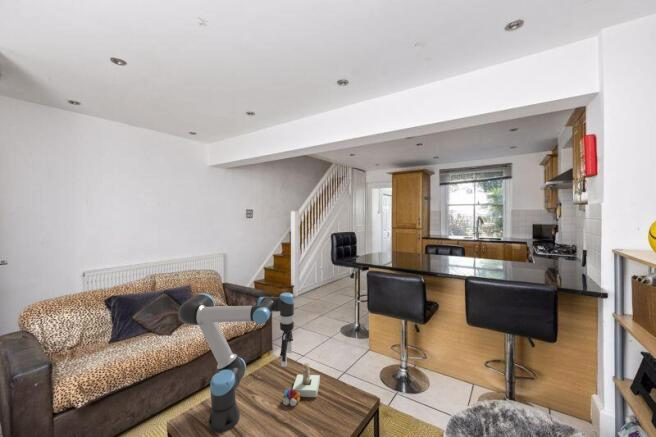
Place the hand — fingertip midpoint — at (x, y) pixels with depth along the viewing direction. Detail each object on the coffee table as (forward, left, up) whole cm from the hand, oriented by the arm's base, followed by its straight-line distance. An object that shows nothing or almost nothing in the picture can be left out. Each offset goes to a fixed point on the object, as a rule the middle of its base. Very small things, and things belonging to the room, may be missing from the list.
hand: (286, 359), depth 153 cm
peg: (+8, +11, -24) cm, 28 cm away
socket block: (+8, +11, -24) cm, 28 cm away
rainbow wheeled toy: (+2, 0, -25) cm, 25 cm away
